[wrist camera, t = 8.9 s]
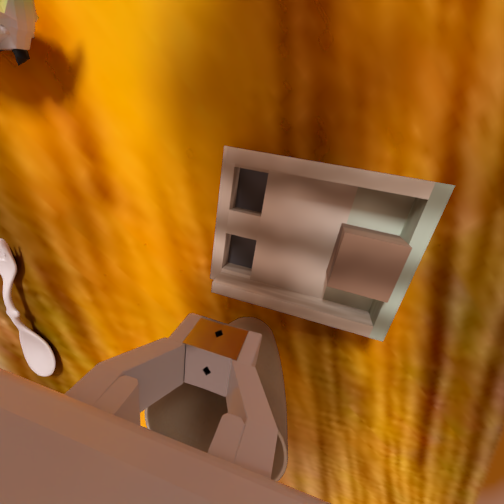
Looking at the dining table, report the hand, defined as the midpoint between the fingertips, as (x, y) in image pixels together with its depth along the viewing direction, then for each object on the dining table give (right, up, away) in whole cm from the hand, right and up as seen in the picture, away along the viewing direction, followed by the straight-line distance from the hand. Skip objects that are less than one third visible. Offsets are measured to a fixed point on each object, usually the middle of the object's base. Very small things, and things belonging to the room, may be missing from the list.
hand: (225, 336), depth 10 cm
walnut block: (+13, +3, +18) cm, 22 cm away
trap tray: (+8, +6, +21) cm, 23 cm away
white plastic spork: (-45, -8, +41) cm, 62 cm away
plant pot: (+1, -10, +29) cm, 30 cm away
